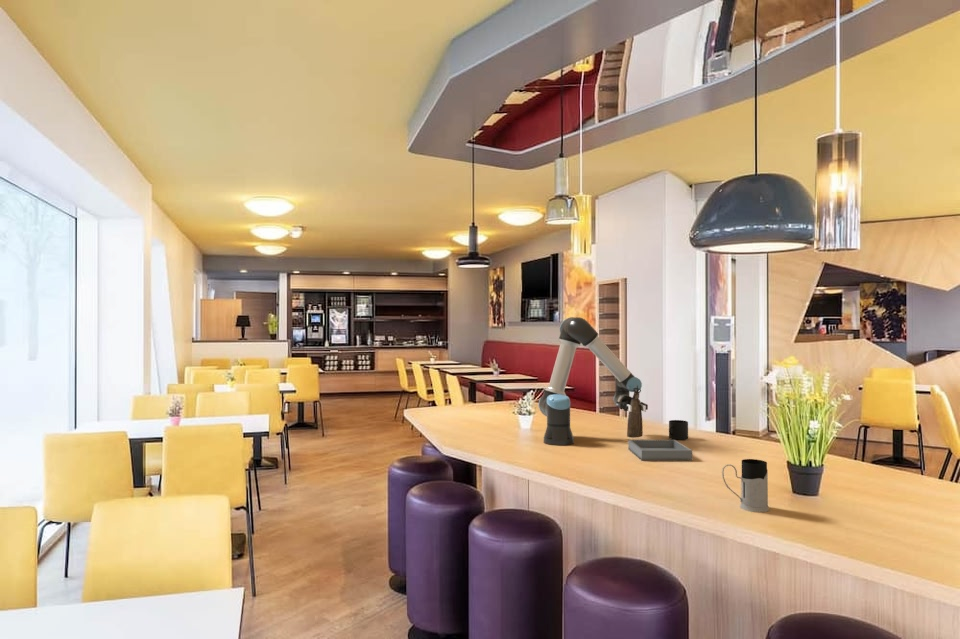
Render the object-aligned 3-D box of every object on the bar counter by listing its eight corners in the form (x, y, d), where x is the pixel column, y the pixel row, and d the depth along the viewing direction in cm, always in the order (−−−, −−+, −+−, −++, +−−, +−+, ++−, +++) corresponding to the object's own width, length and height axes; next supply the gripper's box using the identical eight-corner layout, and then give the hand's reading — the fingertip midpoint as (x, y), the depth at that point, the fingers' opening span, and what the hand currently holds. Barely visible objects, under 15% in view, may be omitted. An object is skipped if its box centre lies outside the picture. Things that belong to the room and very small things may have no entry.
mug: (661, 439, 312) (661, 421, 312) (677, 436, 319) (676, 419, 319) (676, 441, 304) (676, 424, 305) (692, 439, 311) (691, 421, 311)
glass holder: (773, 512, 190) (772, 465, 190) (725, 510, 193) (725, 463, 193) (764, 504, 199) (764, 459, 199) (719, 502, 201) (719, 457, 201)
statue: (643, 438, 290) (641, 385, 291) (627, 438, 291) (625, 386, 292) (642, 435, 298) (640, 384, 299) (627, 435, 300) (624, 384, 301)
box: (641, 460, 263) (641, 450, 263) (628, 449, 287) (628, 439, 287) (692, 460, 263) (692, 450, 263) (674, 449, 287) (674, 439, 287)
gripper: (644, 410, 313) (657, 417, 290) (608, 409, 313) (617, 416, 290) (645, 395, 313) (658, 401, 290) (608, 395, 313) (618, 400, 290)
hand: (638, 409), depth 290 cm, fingers closed on statue, 6 cm apart
